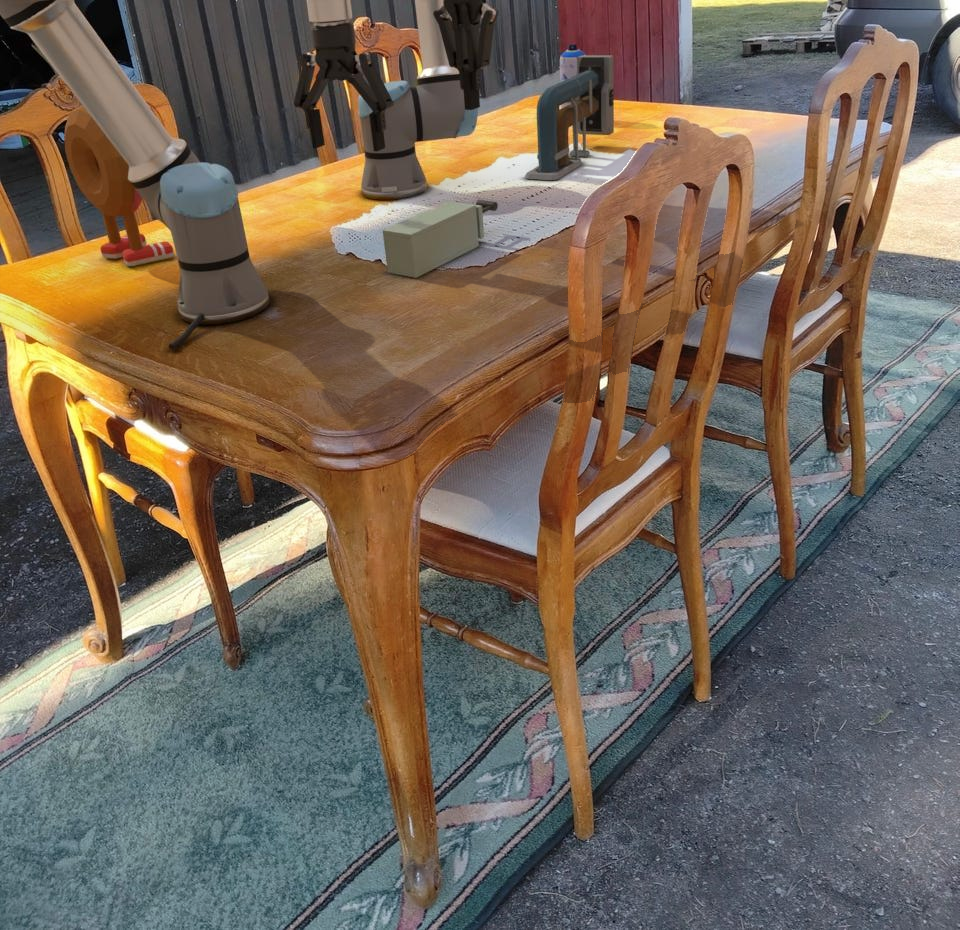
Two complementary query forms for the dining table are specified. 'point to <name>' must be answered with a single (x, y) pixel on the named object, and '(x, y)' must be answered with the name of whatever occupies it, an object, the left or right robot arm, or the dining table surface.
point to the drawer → (480, 209)
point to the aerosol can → (569, 65)
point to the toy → (108, 189)
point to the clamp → (574, 116)
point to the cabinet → (430, 239)
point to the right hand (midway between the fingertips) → (472, 108)
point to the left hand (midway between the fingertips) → (348, 148)
